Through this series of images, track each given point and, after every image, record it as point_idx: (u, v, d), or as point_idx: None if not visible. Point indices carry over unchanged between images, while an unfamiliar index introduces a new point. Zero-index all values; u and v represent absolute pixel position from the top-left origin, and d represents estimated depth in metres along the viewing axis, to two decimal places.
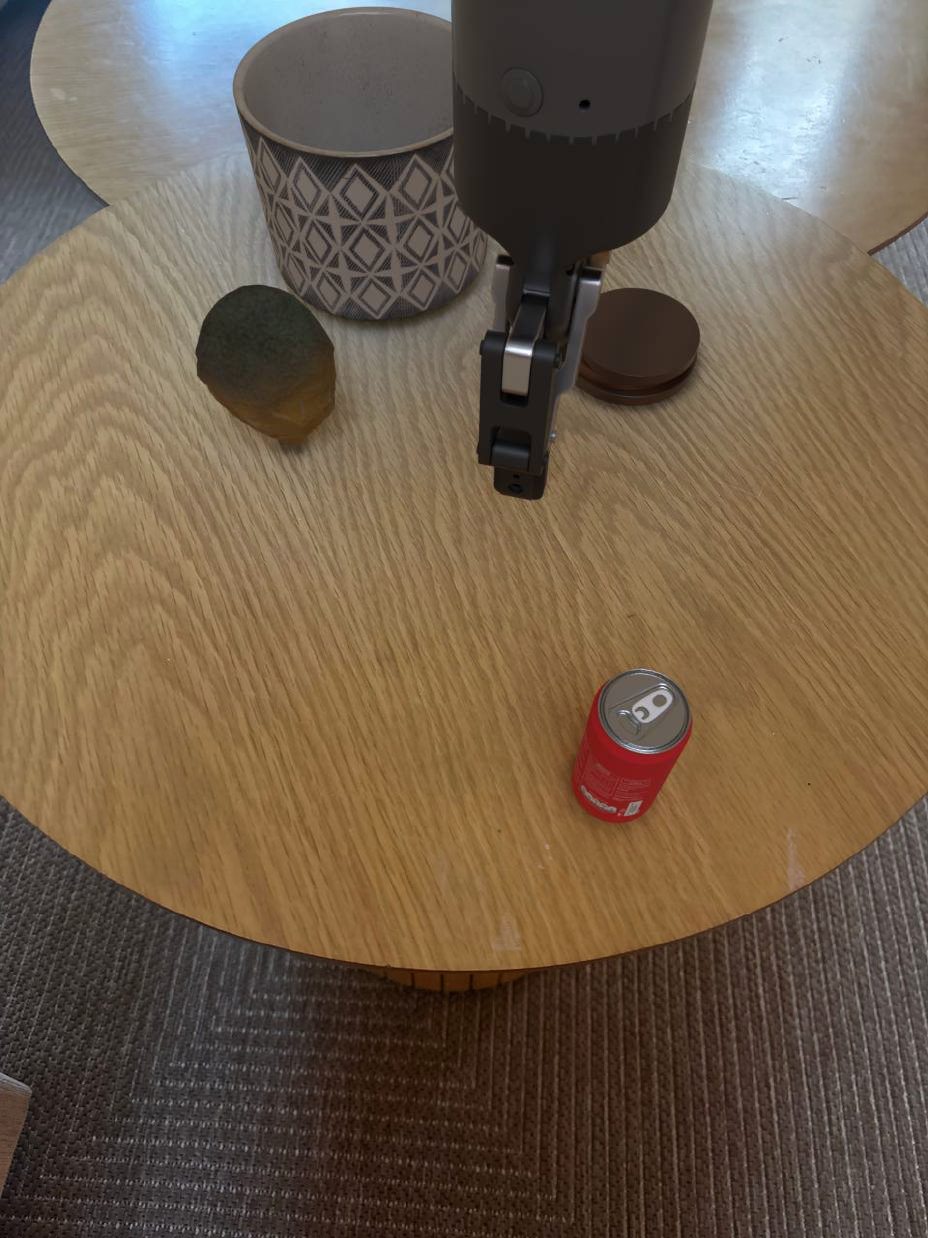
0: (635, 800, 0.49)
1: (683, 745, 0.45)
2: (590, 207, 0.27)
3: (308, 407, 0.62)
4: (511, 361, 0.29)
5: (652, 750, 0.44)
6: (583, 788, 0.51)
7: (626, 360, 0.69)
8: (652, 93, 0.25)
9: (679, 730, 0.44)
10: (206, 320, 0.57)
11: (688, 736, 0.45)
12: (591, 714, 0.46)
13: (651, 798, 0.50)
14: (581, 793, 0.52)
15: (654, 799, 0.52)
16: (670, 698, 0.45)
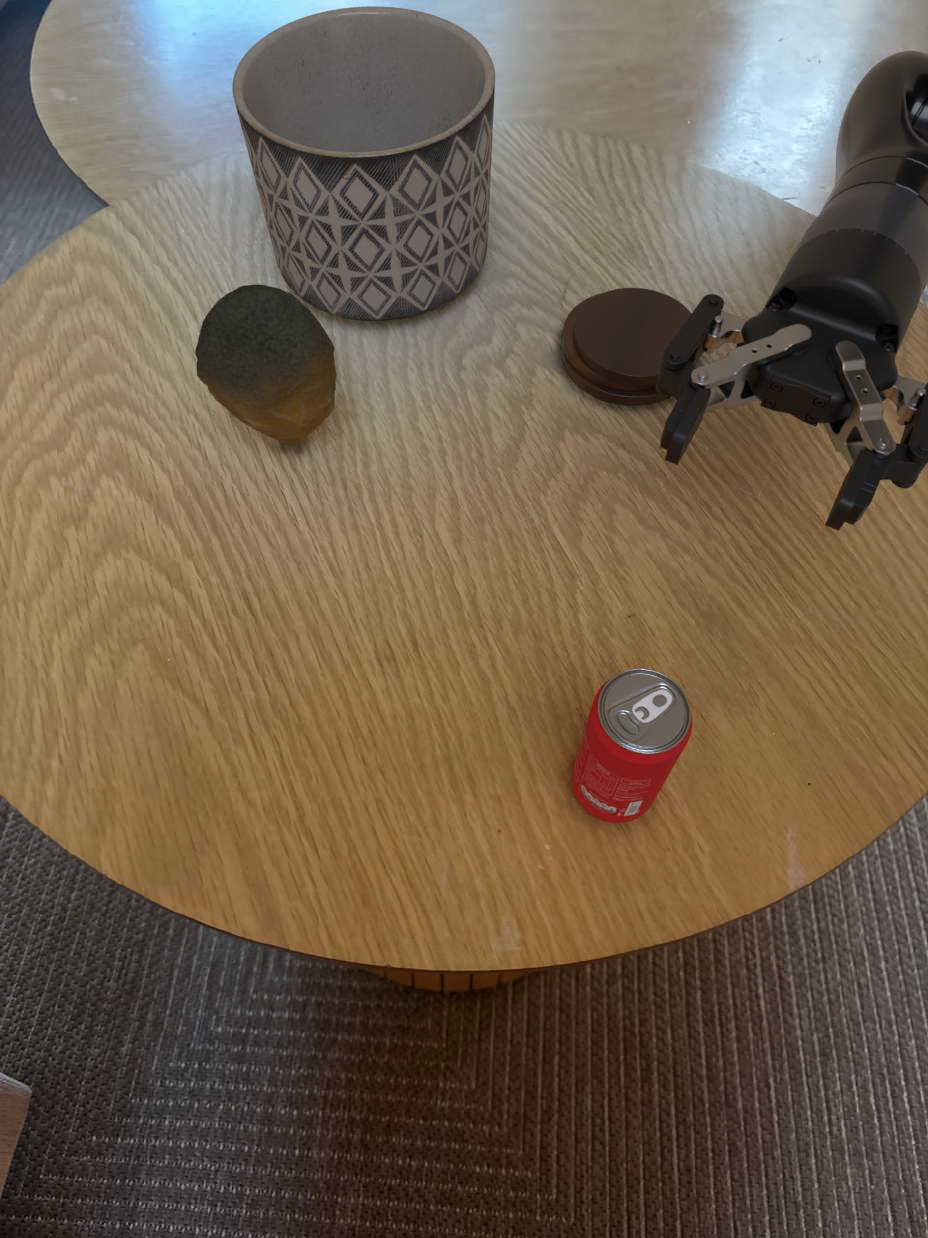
0: (635, 800, 0.49)
1: (683, 745, 0.45)
2: (785, 273, 0.49)
3: (308, 407, 0.62)
4: None
5: (652, 750, 0.44)
6: (583, 788, 0.51)
7: (626, 360, 0.69)
8: (825, 225, 0.49)
9: (679, 730, 0.44)
10: (206, 320, 0.57)
11: (688, 736, 0.45)
12: (591, 714, 0.46)
13: (651, 798, 0.50)
14: (581, 793, 0.52)
15: (654, 799, 0.52)
16: (670, 698, 0.45)
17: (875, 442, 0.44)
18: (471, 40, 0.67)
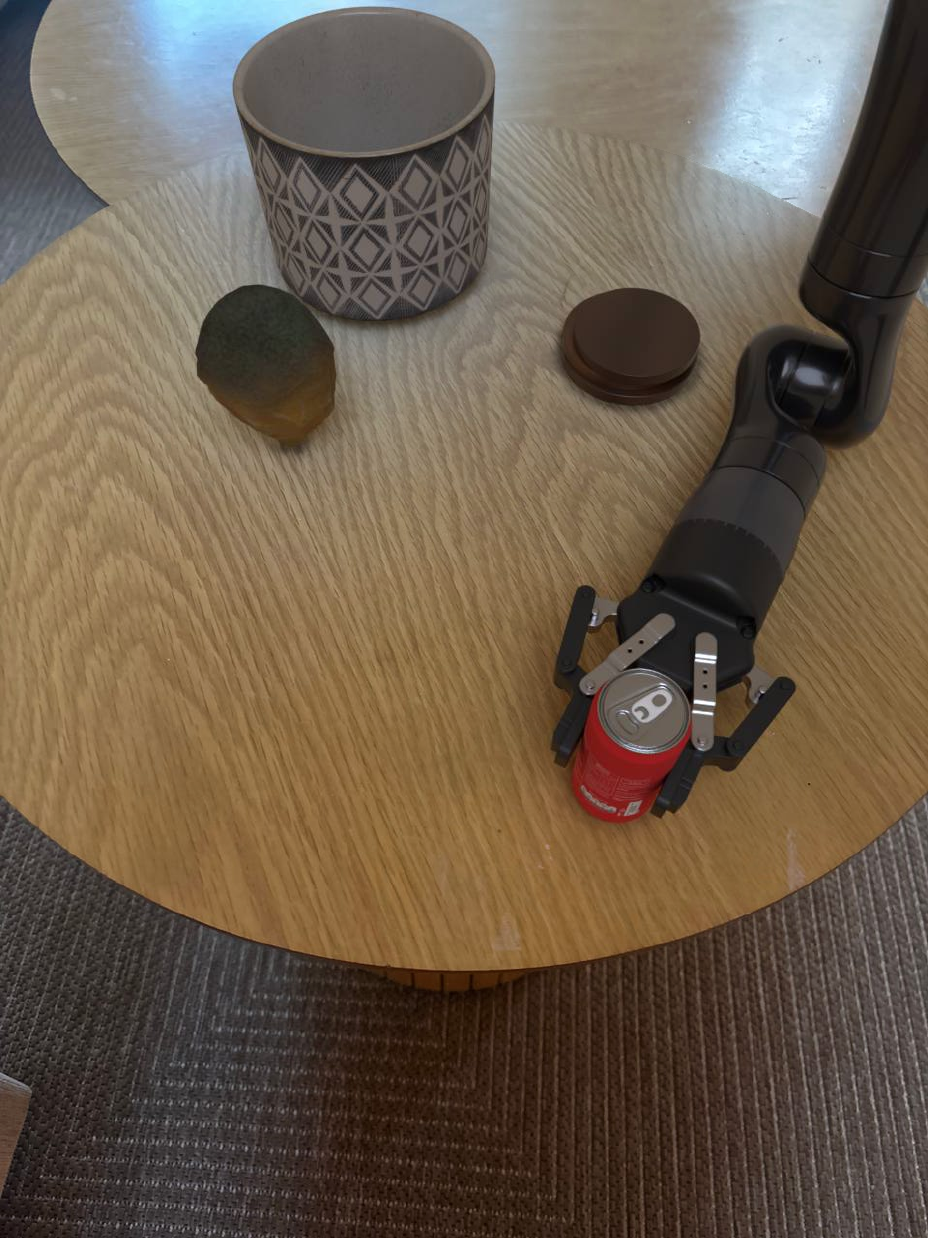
0: (635, 800, 0.49)
1: (683, 745, 0.45)
2: (659, 553, 0.54)
3: (308, 407, 0.62)
4: None
5: (652, 750, 0.44)
6: (583, 788, 0.51)
7: (626, 360, 0.69)
8: (696, 509, 0.54)
9: (678, 730, 0.44)
10: (206, 320, 0.57)
11: (688, 736, 0.45)
12: (591, 714, 0.46)
13: (651, 798, 0.50)
14: (581, 793, 0.52)
15: (654, 799, 0.52)
16: (670, 698, 0.45)
17: (696, 737, 0.48)
18: (471, 40, 0.67)
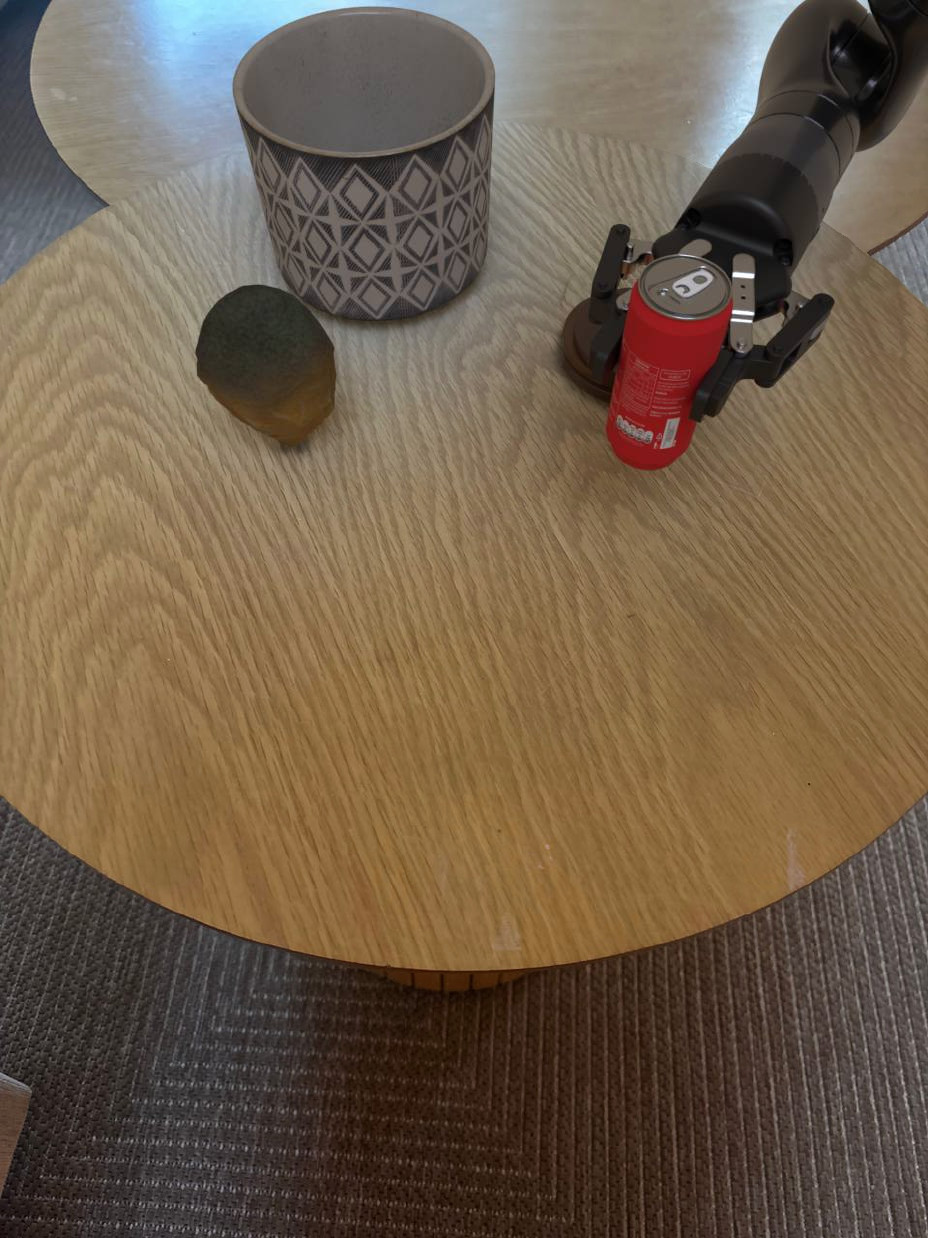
0: (673, 414, 0.49)
1: (724, 319, 0.44)
2: (694, 196, 0.53)
3: (308, 407, 0.62)
4: None
5: None
6: (619, 419, 0.51)
7: None
8: (731, 152, 0.53)
9: (720, 300, 0.44)
10: (206, 320, 0.57)
11: (729, 312, 0.44)
12: (631, 298, 0.45)
13: (688, 421, 0.50)
14: (617, 430, 0.52)
15: (690, 434, 0.52)
16: (711, 276, 0.45)
17: (735, 341, 0.48)
18: (471, 40, 0.67)
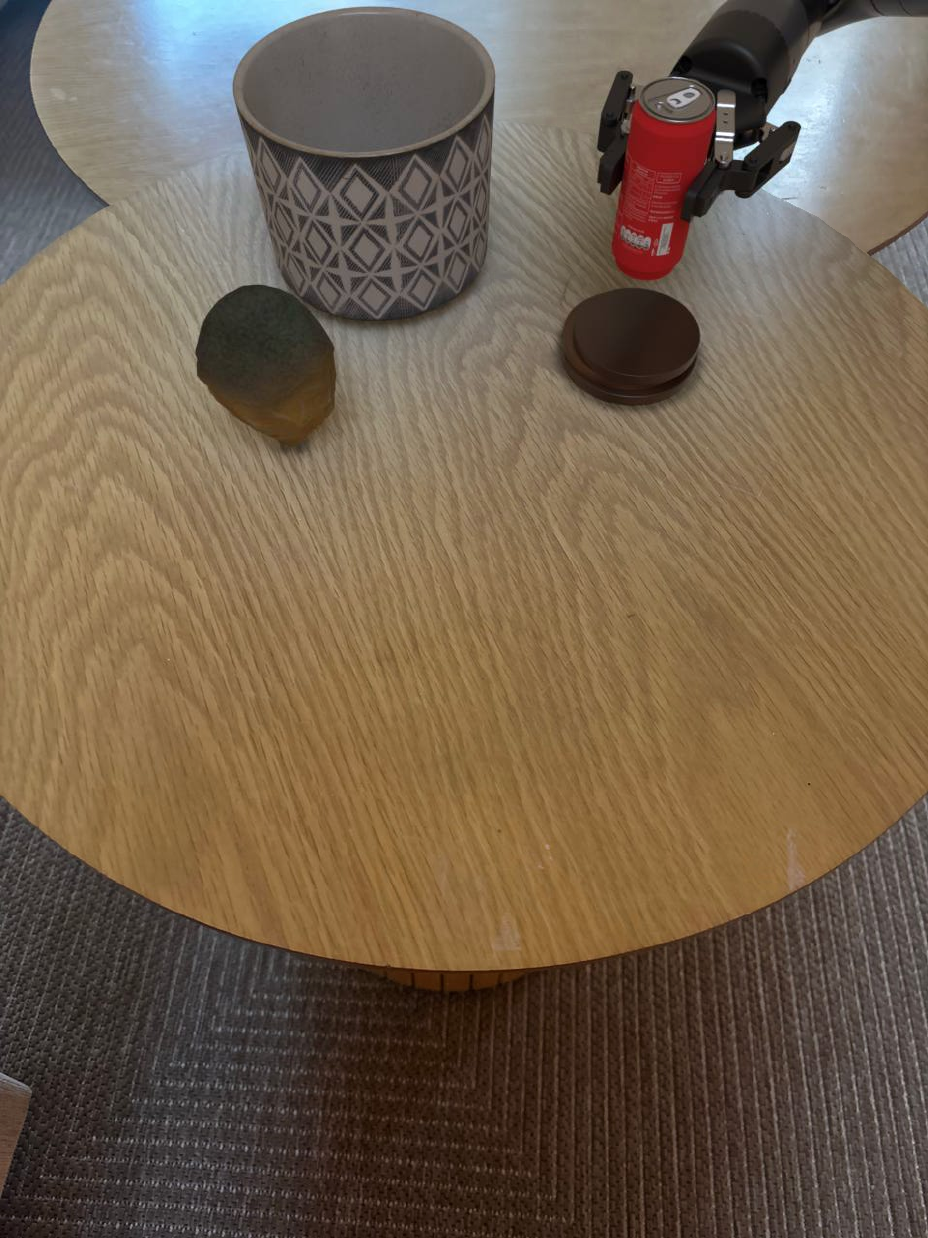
0: (667, 219, 0.59)
1: (709, 125, 0.55)
2: None
3: (308, 407, 0.62)
4: None
5: None
6: (622, 230, 0.61)
7: (626, 360, 0.69)
8: (717, 12, 0.64)
9: (705, 109, 0.54)
10: (206, 320, 0.57)
11: (713, 120, 0.55)
12: (633, 111, 0.56)
13: (680, 228, 0.60)
14: (621, 241, 0.62)
15: (682, 244, 0.62)
16: (698, 92, 0.55)
17: (718, 154, 0.58)
18: (471, 40, 0.67)
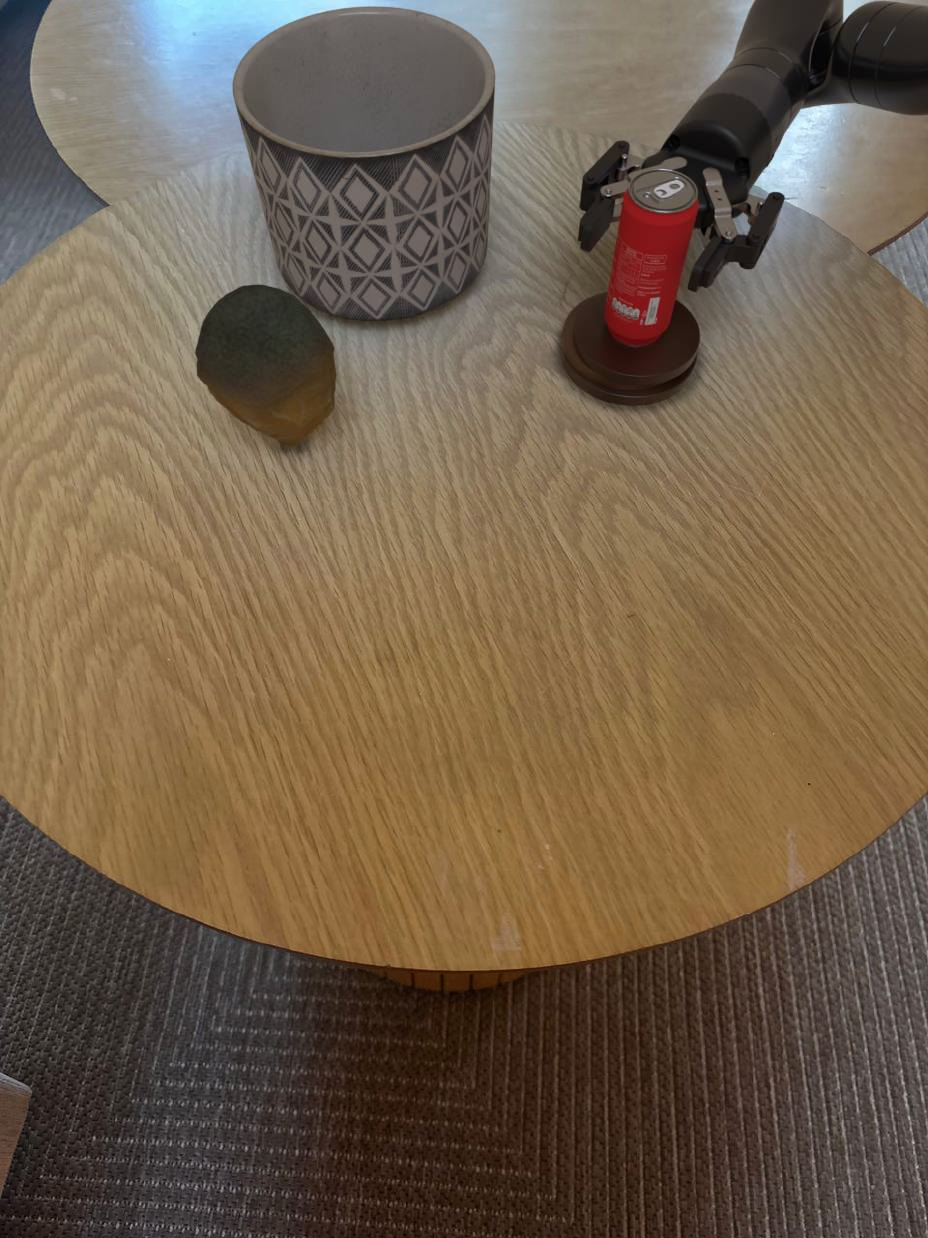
0: (654, 293, 0.65)
1: (691, 214, 0.60)
2: None
3: (308, 407, 0.62)
4: None
5: None
6: (614, 301, 0.67)
7: (626, 360, 0.69)
8: (705, 93, 0.68)
9: (688, 200, 0.60)
10: (206, 320, 0.57)
11: (695, 209, 0.60)
12: (623, 200, 0.61)
13: (666, 301, 0.66)
14: (612, 310, 0.68)
15: (668, 315, 0.68)
16: (682, 184, 0.61)
17: (723, 231, 0.63)
18: (471, 40, 0.67)
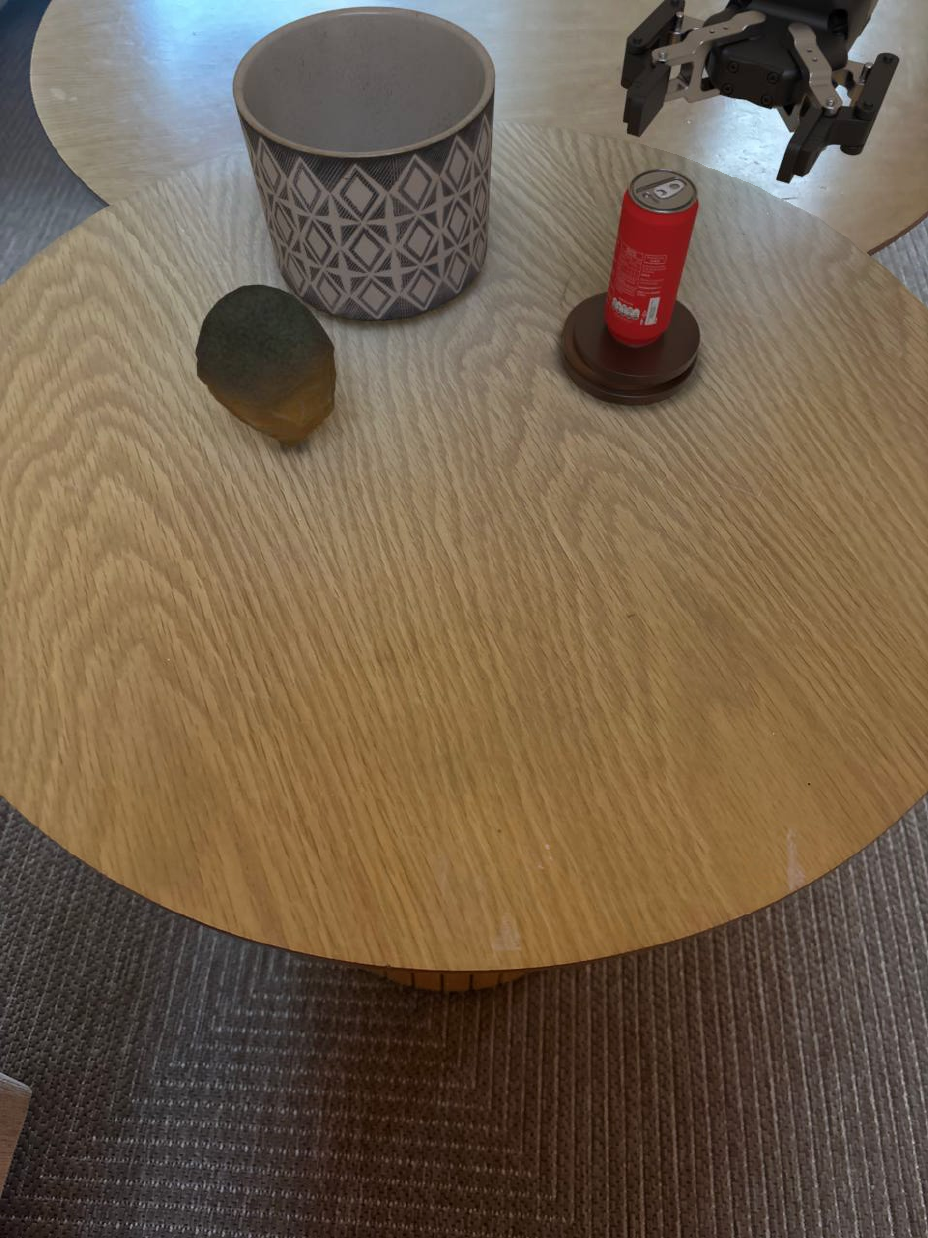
0: (654, 293, 0.65)
1: (691, 214, 0.60)
2: None
3: (308, 407, 0.62)
4: None
5: None
6: (614, 301, 0.67)
7: (626, 360, 0.69)
8: None
9: (688, 200, 0.60)
10: (206, 320, 0.57)
11: (695, 209, 0.60)
12: (623, 200, 0.61)
13: (666, 301, 0.66)
14: (612, 310, 0.68)
15: (668, 315, 0.68)
16: (682, 184, 0.61)
17: (823, 100, 0.46)
18: (471, 40, 0.67)
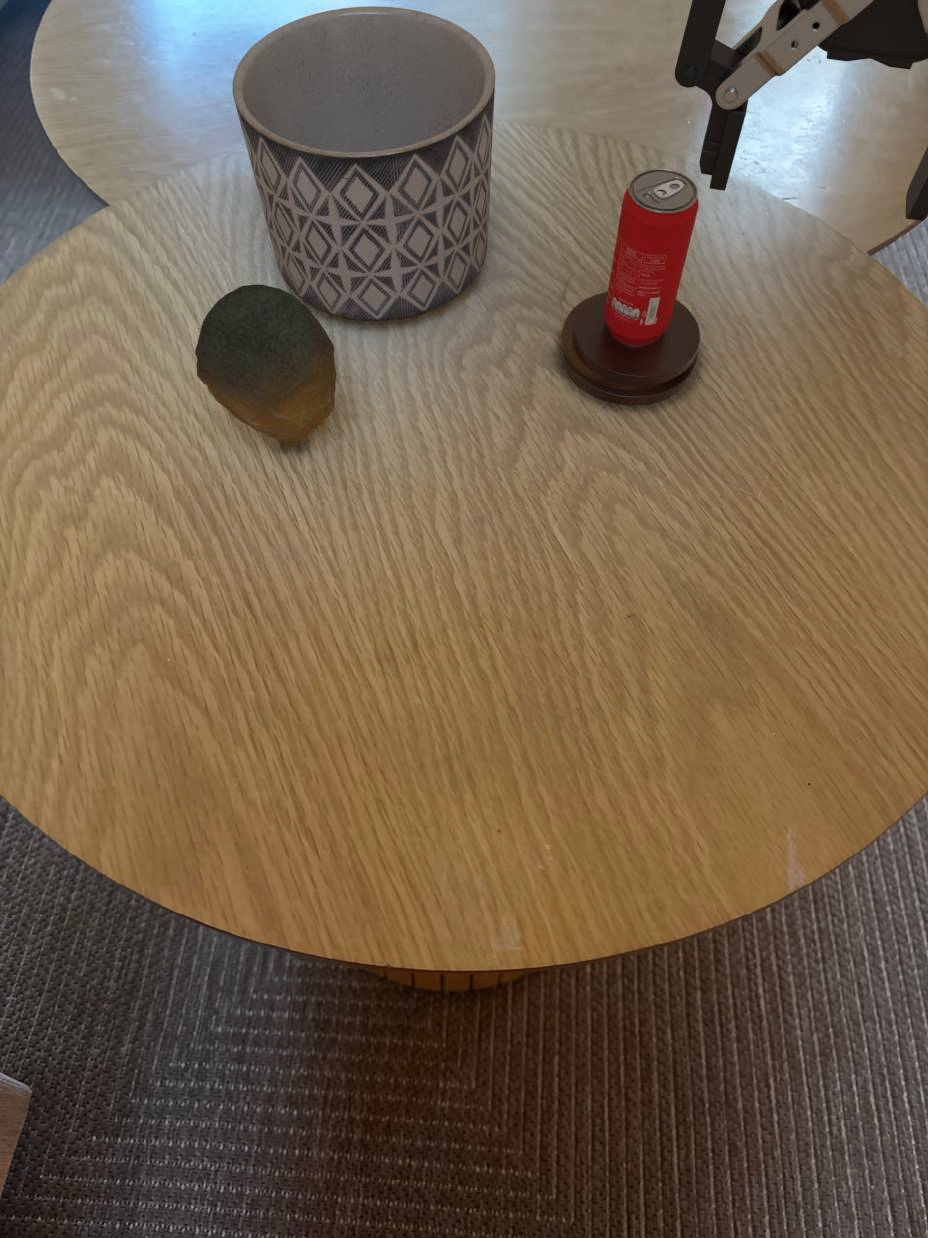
0: (654, 293, 0.65)
1: (691, 214, 0.60)
2: None
3: (308, 407, 0.62)
4: None
5: None
6: (614, 301, 0.67)
7: (626, 360, 0.69)
8: None
9: (688, 200, 0.60)
10: (206, 320, 0.57)
11: (695, 209, 0.60)
12: (623, 200, 0.61)
13: (666, 301, 0.66)
14: (612, 310, 0.68)
15: (668, 315, 0.68)
16: (682, 184, 0.61)
17: None
18: (471, 40, 0.67)
